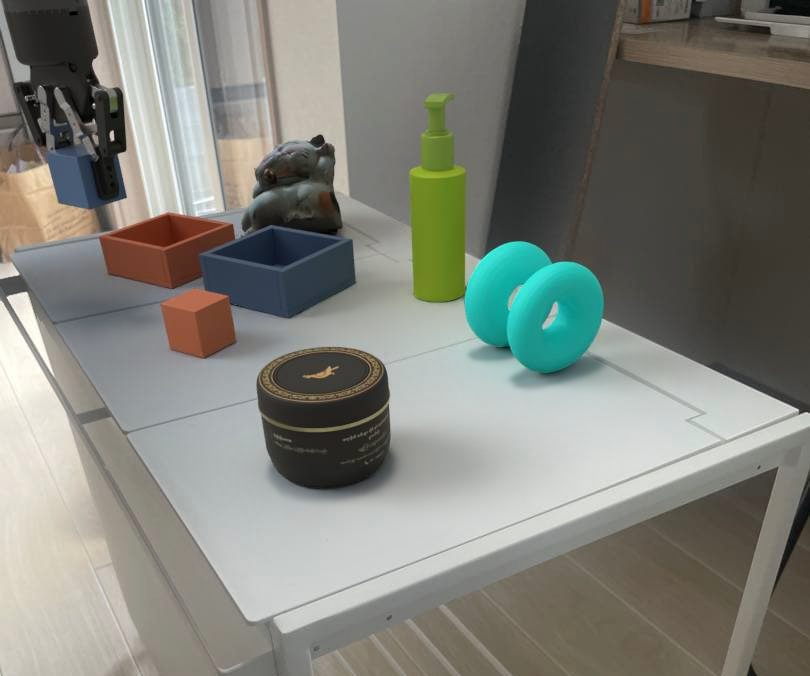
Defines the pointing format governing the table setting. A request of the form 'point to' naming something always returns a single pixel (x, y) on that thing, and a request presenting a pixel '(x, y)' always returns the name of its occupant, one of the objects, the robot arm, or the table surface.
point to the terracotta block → (198, 322)
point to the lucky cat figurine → (295, 189)
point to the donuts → (534, 306)
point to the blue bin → (279, 269)
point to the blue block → (78, 177)
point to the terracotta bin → (163, 248)
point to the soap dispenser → (438, 211)
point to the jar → (325, 415)
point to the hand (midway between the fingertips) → (91, 194)
